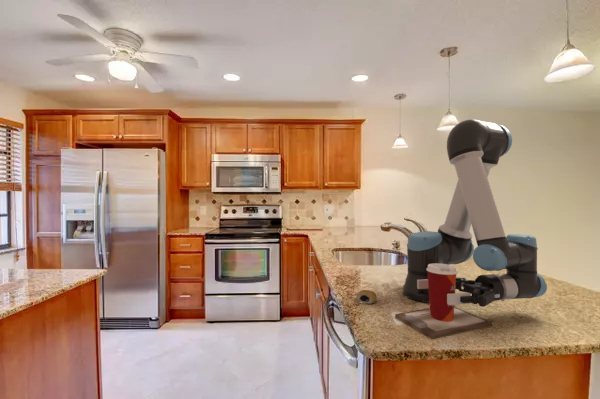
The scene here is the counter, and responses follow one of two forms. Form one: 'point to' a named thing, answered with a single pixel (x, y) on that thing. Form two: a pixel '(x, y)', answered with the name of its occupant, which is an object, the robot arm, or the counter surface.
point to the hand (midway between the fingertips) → (431, 291)
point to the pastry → (366, 296)
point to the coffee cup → (441, 290)
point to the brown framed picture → (442, 322)
